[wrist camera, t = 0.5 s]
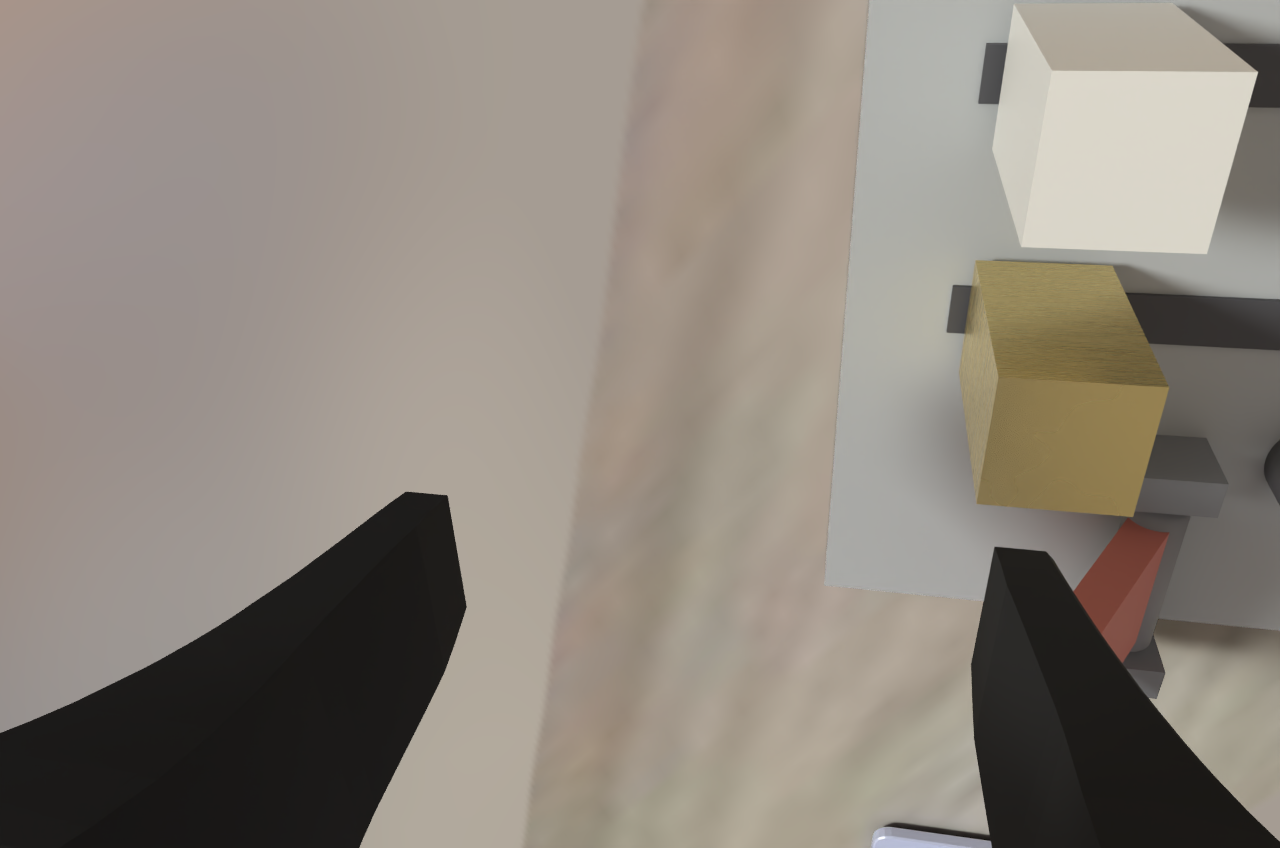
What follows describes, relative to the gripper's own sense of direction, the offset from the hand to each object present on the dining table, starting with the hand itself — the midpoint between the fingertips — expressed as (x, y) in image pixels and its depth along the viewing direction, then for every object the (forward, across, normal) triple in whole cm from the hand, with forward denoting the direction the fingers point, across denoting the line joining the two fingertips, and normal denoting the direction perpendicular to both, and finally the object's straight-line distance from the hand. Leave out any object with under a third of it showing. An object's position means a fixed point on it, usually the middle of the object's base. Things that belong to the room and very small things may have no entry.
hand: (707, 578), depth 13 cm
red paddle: (+8, -8, +6) cm, 13 cm away
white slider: (+8, -5, -5) cm, 11 cm away
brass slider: (+8, -5, 0) cm, 10 cm away
